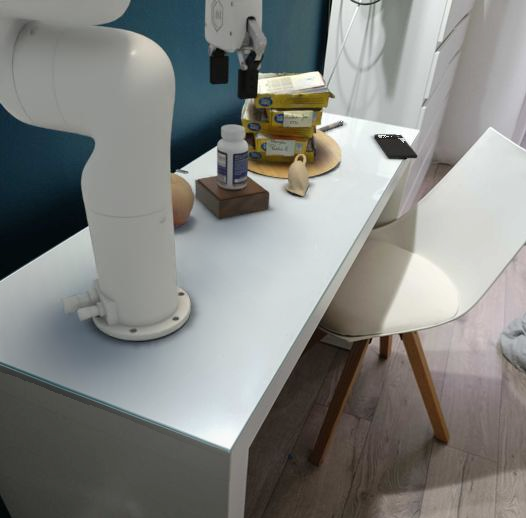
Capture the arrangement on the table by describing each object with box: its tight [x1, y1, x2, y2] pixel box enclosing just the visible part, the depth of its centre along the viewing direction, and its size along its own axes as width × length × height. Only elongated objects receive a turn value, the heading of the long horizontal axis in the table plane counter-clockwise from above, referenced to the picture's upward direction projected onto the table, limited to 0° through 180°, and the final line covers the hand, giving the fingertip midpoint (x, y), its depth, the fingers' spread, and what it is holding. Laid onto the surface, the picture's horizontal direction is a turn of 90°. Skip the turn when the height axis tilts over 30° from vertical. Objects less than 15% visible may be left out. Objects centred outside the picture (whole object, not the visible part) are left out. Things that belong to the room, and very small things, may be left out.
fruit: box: [171, 172, 195, 228], centre depth 83 cm, size 8×8×8 cm
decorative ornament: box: [285, 154, 310, 197], centre depth 98 cm, size 4×8×5 cm, turn 164°
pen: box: [316, 120, 344, 133], centre depth 129 cm, size 1×14×1 cm
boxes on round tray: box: [240, 71, 342, 179], centre depth 107 cm, size 25×25×17 cm
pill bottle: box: [216, 124, 249, 190], centre depth 87 cm, size 5×5×10 cm
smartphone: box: [373, 133, 418, 159], centre depth 121 cm, size 7×1×15 cm
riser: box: [194, 175, 270, 220], centre depth 91 cm, size 10×10×4 cm
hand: (232, 90), depth 80 cm, fingers open, 9 cm apart
